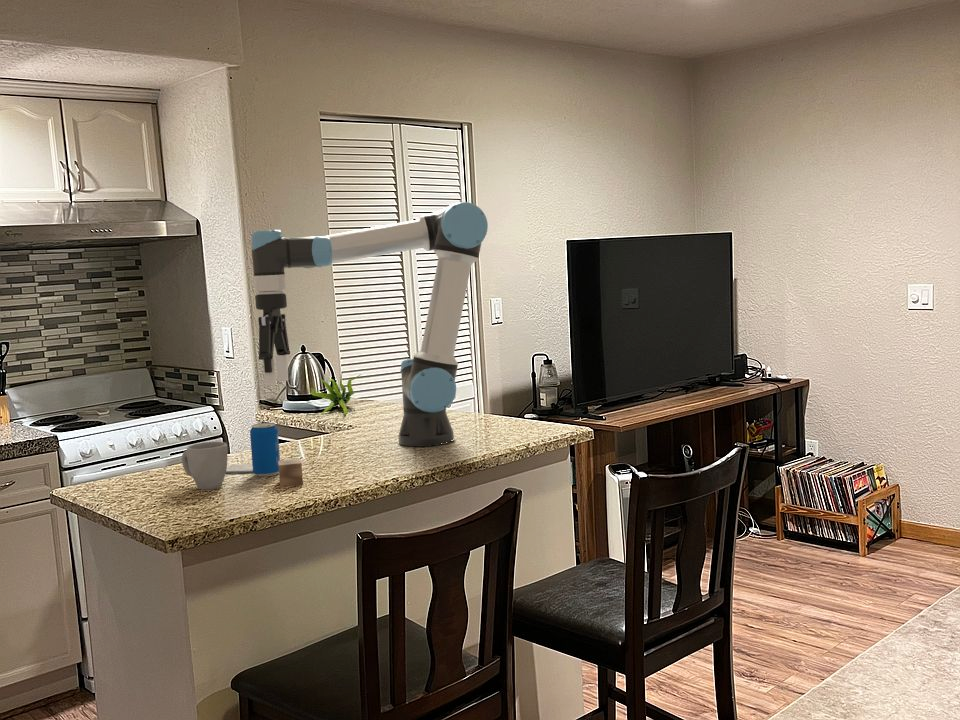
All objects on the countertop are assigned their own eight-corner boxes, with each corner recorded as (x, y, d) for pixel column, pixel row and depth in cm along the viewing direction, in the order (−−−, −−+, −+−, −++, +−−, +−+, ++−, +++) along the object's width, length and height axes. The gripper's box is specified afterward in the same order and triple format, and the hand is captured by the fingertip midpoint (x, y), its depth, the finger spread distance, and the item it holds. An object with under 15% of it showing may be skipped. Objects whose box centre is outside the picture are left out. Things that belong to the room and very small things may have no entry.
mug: (238, 483, 211) (235, 442, 210) (210, 492, 203) (207, 450, 202) (198, 480, 217) (195, 440, 216) (170, 489, 209) (167, 447, 208)
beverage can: (274, 477, 216) (270, 427, 215) (248, 477, 217) (244, 427, 216) (285, 471, 222) (281, 422, 221) (260, 471, 224) (256, 422, 222)
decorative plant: (295, 420, 302) (292, 376, 301) (335, 406, 330) (333, 365, 329) (345, 420, 297) (342, 375, 295) (381, 406, 325) (379, 364, 323)
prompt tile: (267, 465, 231) (267, 462, 230) (255, 473, 221) (255, 470, 221) (232, 466, 231) (232, 463, 231) (218, 474, 222) (218, 471, 222)
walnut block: (301, 480, 212) (300, 459, 211) (303, 484, 207) (301, 463, 207) (279, 482, 211) (278, 461, 210) (280, 487, 206) (278, 465, 205)
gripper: (269, 292, 239) (276, 378, 241) (240, 295, 217) (247, 389, 219) (298, 291, 238) (303, 377, 240) (271, 293, 216) (277, 388, 218)
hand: (276, 383), depth 230 cm, fingers open, 9 cm apart
